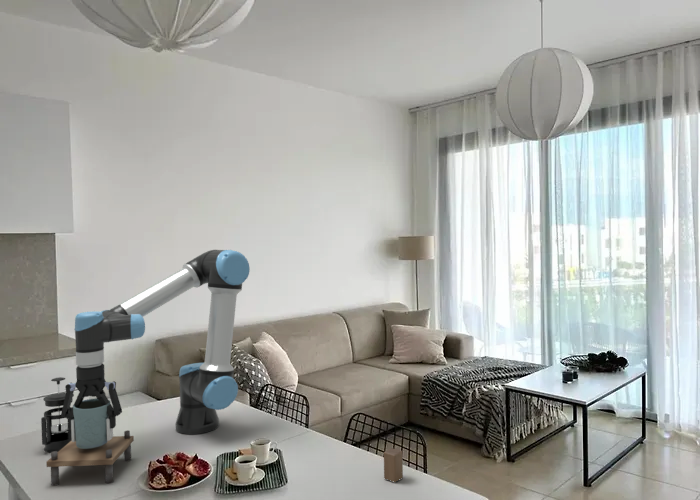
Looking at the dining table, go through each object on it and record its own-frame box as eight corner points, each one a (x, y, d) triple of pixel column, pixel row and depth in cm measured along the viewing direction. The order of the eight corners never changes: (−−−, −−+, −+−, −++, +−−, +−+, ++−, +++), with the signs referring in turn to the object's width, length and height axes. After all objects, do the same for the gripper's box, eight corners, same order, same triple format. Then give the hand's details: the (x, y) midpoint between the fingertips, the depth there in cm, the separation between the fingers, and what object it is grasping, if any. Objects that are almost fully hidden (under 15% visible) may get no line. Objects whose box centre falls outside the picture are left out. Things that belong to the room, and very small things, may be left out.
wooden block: (391, 474, 158) (391, 447, 158) (403, 478, 155) (403, 450, 155) (383, 479, 155) (383, 451, 155) (395, 483, 152) (394, 455, 152)
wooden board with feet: (134, 457, 173) (133, 429, 172) (112, 483, 155) (112, 452, 154) (75, 459, 172) (74, 431, 171) (47, 486, 154) (46, 454, 153)
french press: (62, 439, 189) (60, 373, 188) (84, 442, 186) (82, 375, 185) (32, 452, 178) (30, 382, 177) (55, 455, 175) (53, 384, 174)
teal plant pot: (85, 436, 168) (83, 398, 168) (117, 436, 168) (116, 397, 167) (67, 450, 158) (65, 408, 158) (101, 449, 158) (100, 408, 157)
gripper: (132, 360, 166) (134, 433, 167) (57, 362, 165) (60, 436, 166) (124, 366, 159) (126, 443, 160) (45, 368, 158) (48, 445, 158)
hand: (92, 439), depth 163 cm, fingers closed on teal plant pot, 9 cm apart
